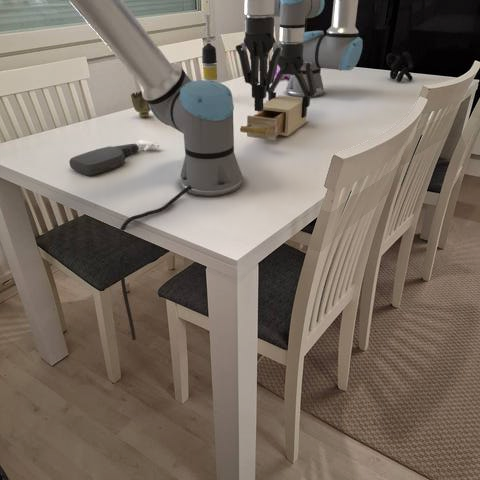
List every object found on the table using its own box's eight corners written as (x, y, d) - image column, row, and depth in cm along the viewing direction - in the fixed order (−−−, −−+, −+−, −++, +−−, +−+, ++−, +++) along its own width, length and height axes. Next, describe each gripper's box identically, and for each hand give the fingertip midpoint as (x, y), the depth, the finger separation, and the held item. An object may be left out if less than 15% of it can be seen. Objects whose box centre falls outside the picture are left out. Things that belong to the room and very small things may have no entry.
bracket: (280, 80, 204) (280, 64, 200) (270, 78, 207) (270, 62, 203) (295, 74, 213) (295, 59, 209) (285, 73, 216) (285, 58, 212)
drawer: (267, 146, 125) (267, 124, 122) (238, 141, 128) (238, 120, 125) (294, 126, 143) (295, 107, 140) (268, 123, 146) (269, 104, 143)
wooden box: (287, 136, 137) (288, 109, 133) (257, 131, 141) (257, 106, 137) (306, 122, 151) (308, 98, 147) (278, 118, 155) (279, 95, 151)
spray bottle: (67, 168, 120) (139, 144, 136) (91, 178, 114) (163, 151, 130) (65, 157, 118) (137, 134, 134) (89, 167, 112) (162, 142, 128)
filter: (220, 99, 177) (217, 15, 161) (206, 100, 176) (202, 16, 160) (215, 96, 182) (212, 14, 166) (202, 97, 180) (197, 14, 164)
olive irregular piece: (129, 117, 158) (125, 94, 154) (142, 112, 164) (139, 90, 159) (146, 120, 155) (143, 97, 151) (158, 114, 161) (156, 92, 156)
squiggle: (400, 92, 202) (376, 71, 205) (417, 76, 202) (392, 56, 205) (405, 81, 191) (380, 59, 194) (423, 64, 191) (397, 42, 194)
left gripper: (288, 15, 113) (285, 108, 126) (242, 14, 118) (243, 104, 130) (278, 18, 107) (275, 116, 120) (229, 17, 112) (232, 110, 125)
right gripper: (331, 42, 135) (324, 115, 147) (262, 39, 144) (261, 108, 155) (323, 46, 129) (317, 121, 141) (252, 42, 138) (252, 113, 149)
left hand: (258, 109), depth 125 cm, fingers closed
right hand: (288, 114), depth 148 cm, fingers closed on wooden box, 10 cm apart
